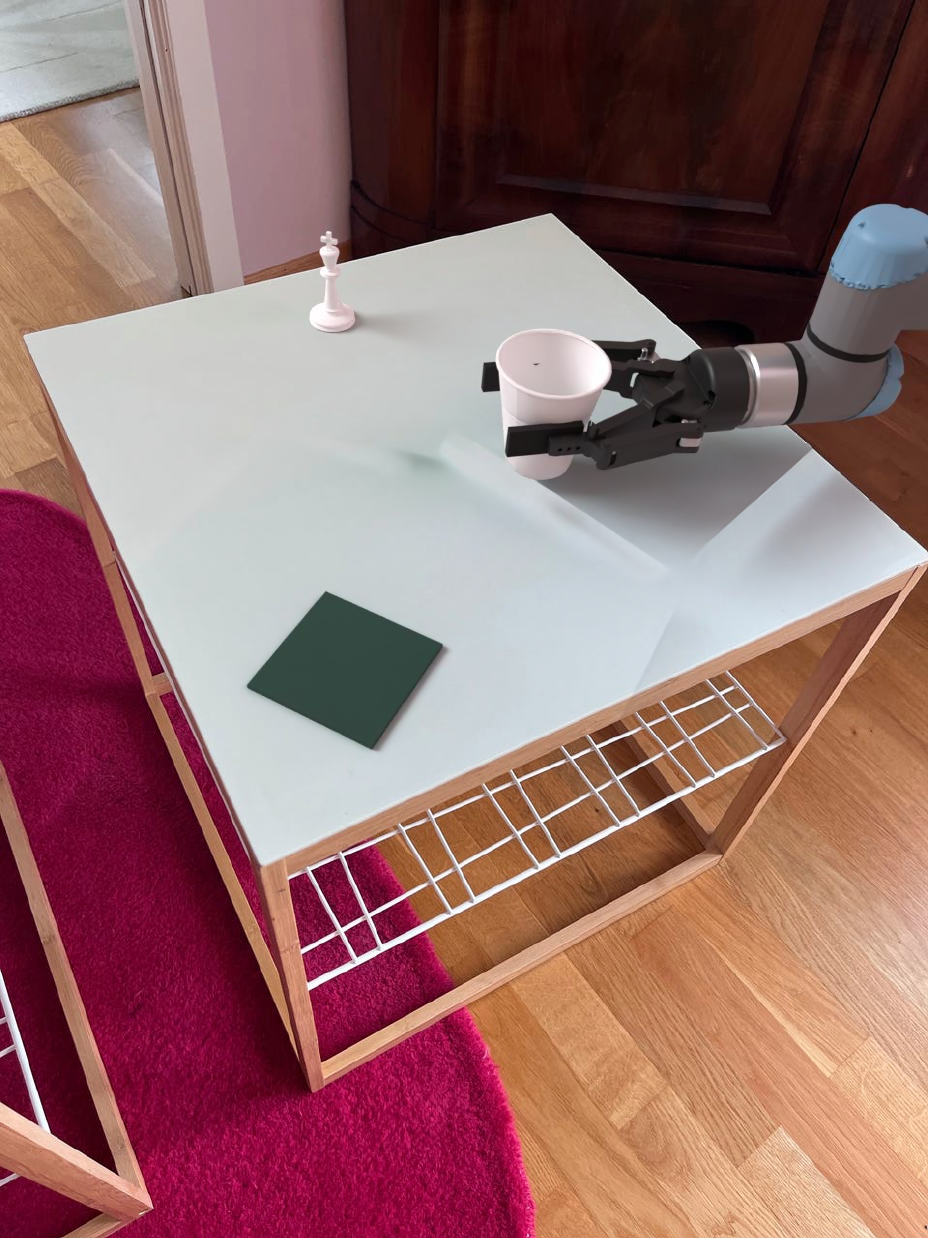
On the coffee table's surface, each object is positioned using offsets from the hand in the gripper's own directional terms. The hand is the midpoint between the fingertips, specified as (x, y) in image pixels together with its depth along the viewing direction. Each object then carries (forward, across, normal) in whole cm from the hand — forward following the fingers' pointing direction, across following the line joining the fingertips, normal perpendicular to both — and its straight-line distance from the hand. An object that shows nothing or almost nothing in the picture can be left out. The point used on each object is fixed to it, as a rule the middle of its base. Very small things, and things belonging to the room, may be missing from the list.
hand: (495, 408), depth 83 cm
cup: (-5, 0, -7) cm, 8 cm away
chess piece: (+11, +27, -8) cm, 30 cm away
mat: (+16, -20, -8) cm, 27 cm away
